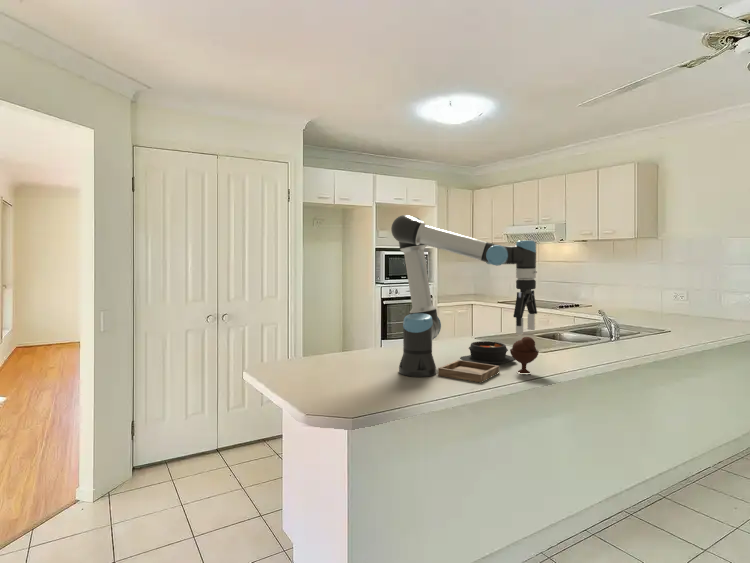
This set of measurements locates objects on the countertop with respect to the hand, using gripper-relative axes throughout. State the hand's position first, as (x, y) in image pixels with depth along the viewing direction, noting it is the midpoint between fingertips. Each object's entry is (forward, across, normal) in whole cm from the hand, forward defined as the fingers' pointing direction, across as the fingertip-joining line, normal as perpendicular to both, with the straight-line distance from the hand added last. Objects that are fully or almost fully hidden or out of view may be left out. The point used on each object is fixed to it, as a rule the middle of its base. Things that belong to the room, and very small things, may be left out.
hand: (525, 331), depth 190 cm
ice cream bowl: (+17, 0, 0) cm, 17 cm away
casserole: (+17, +9, +20) cm, 28 cm away
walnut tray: (+17, -15, +18) cm, 29 cm away
